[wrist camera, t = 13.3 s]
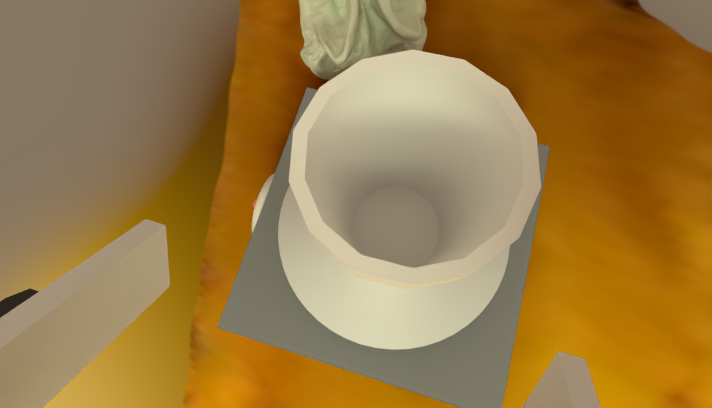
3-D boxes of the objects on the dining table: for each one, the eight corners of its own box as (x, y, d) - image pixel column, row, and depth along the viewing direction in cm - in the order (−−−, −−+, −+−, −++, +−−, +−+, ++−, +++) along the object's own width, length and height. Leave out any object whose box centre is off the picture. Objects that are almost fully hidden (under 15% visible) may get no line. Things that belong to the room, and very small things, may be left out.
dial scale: (518, 177, 37) (561, 135, 29) (473, 398, 32) (509, 428, 24) (307, 123, 40) (289, 70, 31) (236, 321, 35) (190, 323, 26)
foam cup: (381, 329, 26) (387, 341, 13) (301, 218, 28) (242, 138, 15) (492, 242, 27) (596, 177, 14) (407, 143, 29) (432, 12, 17)
